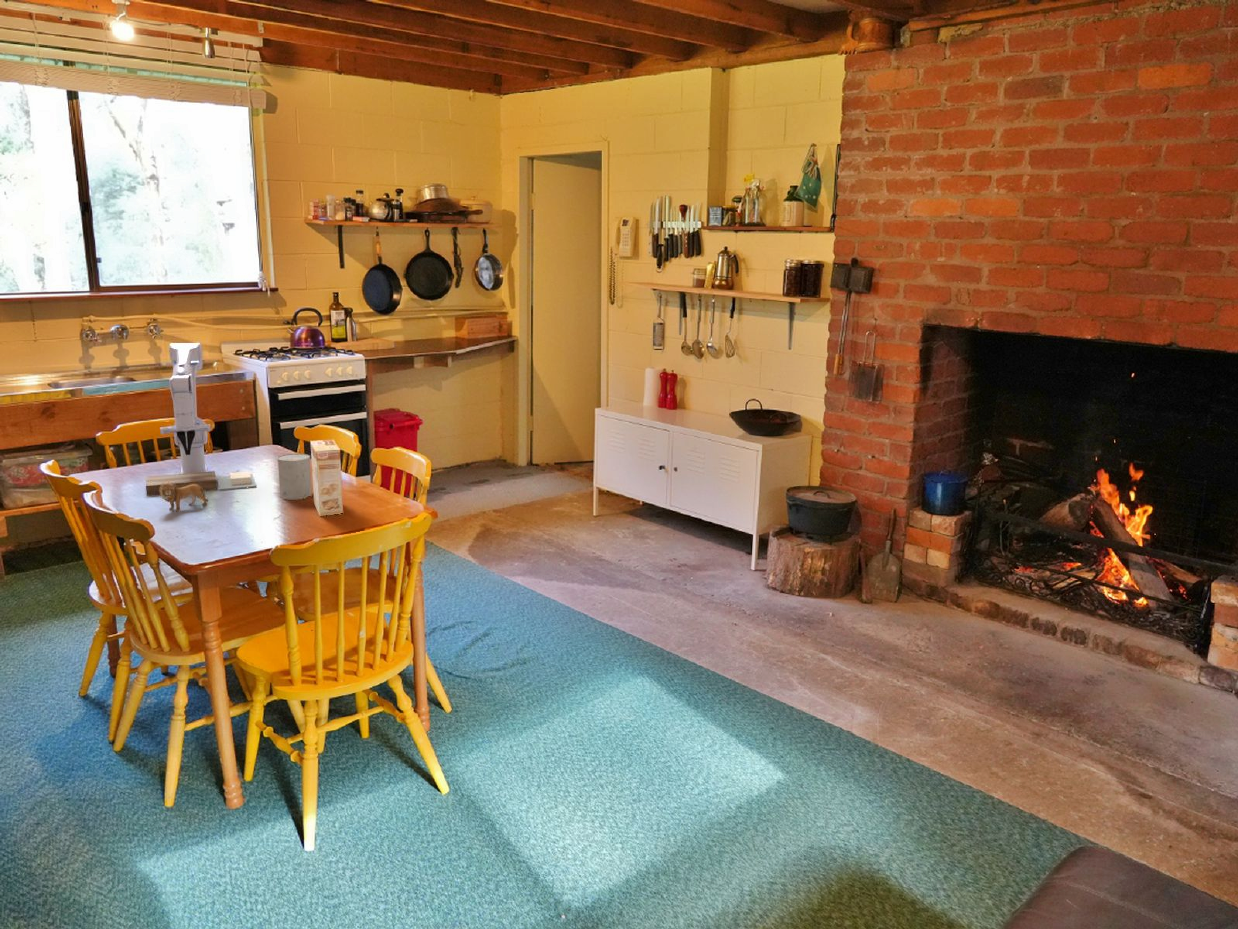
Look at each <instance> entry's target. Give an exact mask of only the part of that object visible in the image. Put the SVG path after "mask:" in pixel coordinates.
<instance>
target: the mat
mask: <svg viewBox="0 0 1238 929" xmlns="http://www.w3.org/2000/svg"><path fill="white" fill-rule="evenodd" d="M250 476H251V483H247V484H236V485H231V482H230V476H229V475H225V476H222V475H221V476H216V481H217V488H218V490H220V491H228V490H229V491H231V489H232V490H238V489H239V488H243V489H248V488H247V487H254V488H257V484H256V481H255V477H254V476H253V473H250ZM239 490H240V489H239Z"/></svg>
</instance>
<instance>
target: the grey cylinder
mask: <svg viewBox="0 0 1238 929" xmlns="http://www.w3.org/2000/svg"><path fill="white" fill-rule="evenodd" d="M277 468H278V482H279V497H280V498H281V499H283V500H288V501H290V500H291V501H293V500H303V498H304V499H307V498H306V497H308V496H310V497H312V496H313V493H312V492H313V486H312V475H311V474H312V469H311V455H309V454H307V453H287V454H282V455H279V456H277ZM308 498H309V497H308Z"/></svg>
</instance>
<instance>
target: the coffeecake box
mask: <svg viewBox="0 0 1238 929" xmlns="http://www.w3.org/2000/svg"><path fill="white" fill-rule="evenodd" d="M310 452H311V453H310V461H311V474H312V475H311V478H312V492H313V493H312V496H313V503H314V506H315V509H316V512H317V514H318V516H319V517H325V516H326V515H327V516H335V515H334V514H338V513H339V515H341V514H340V513H343V514H344V507H343V505H344V504H343V486H342V485H343V484H342V465H341V449H340V447H339V446H338V444H337V443H336V441H335V439H320V440H310ZM327 516H326V517H327Z"/></svg>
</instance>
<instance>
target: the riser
mask: <svg viewBox="0 0 1238 929" xmlns="http://www.w3.org/2000/svg"><path fill="white" fill-rule="evenodd" d="M145 479H146V480H145V488H146V489H145V490H146V496H155V495H160V492H159V488H160V486H161V484H162V483H166V482H169V483H171V484H175V485H177V486H178V487H186V486H188V485H191V484H197V485H199V486H201V487H202V489H203V491H211V490H212V489H213V490H218V482H217V476H216V471H215V470H212V471H207V472H198V473H186V474H181V473H176V474H175V473H174V474H165V475H164V474H163V475H151V476H146V478H145Z"/></svg>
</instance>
